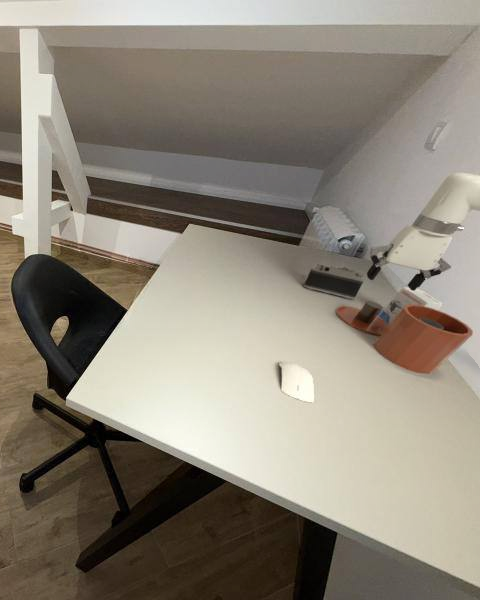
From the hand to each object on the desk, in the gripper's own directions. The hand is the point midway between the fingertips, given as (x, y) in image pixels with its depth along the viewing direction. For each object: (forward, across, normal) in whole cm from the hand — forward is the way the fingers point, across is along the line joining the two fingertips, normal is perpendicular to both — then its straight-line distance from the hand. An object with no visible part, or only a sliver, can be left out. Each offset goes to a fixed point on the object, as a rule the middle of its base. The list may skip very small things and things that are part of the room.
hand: (389, 283), depth 88 cm
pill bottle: (+14, -6, +14) cm, 21 cm away
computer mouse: (+15, +22, +40) cm, 48 cm away
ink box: (+14, -10, -4) cm, 18 cm away
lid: (+14, 0, 0) cm, 14 cm away
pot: (+14, -6, +14) cm, 21 cm away
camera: (+14, +7, -18) cm, 24 cm away
